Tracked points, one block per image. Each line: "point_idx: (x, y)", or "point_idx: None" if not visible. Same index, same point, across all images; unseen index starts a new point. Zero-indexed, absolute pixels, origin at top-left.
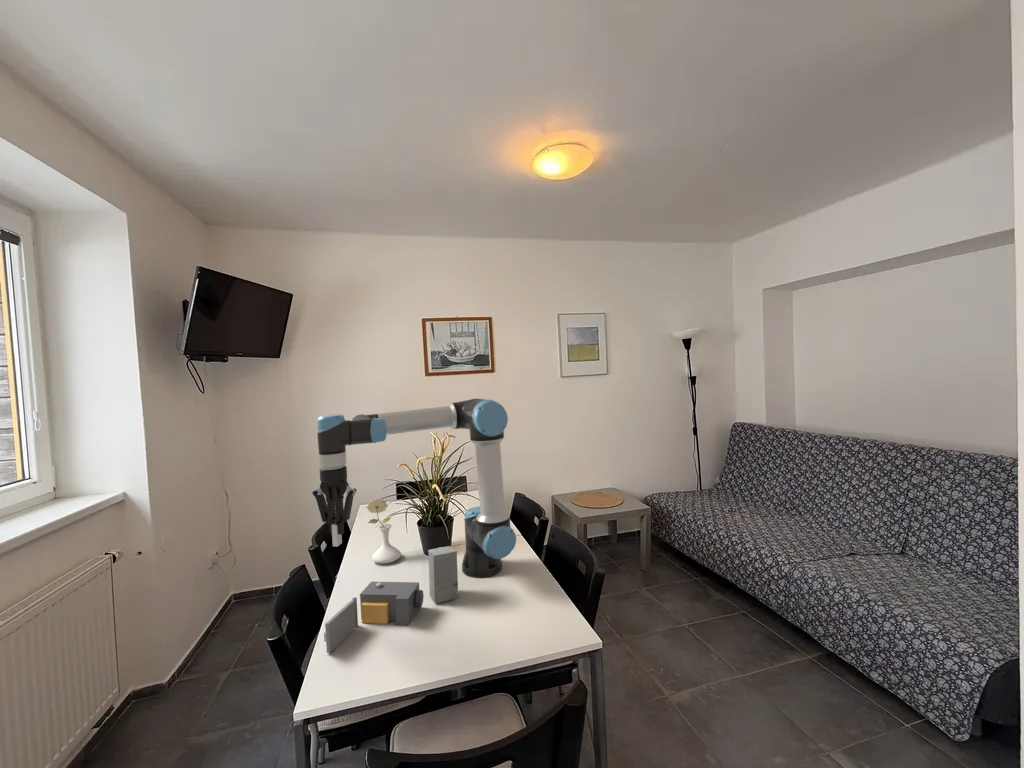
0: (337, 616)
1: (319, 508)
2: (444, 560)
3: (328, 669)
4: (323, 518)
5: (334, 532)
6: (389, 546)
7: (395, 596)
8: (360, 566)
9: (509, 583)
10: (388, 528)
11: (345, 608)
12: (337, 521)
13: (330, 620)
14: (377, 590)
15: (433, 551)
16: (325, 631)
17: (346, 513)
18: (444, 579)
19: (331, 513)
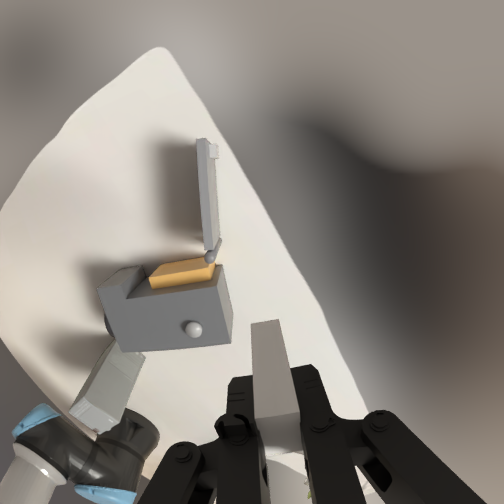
0: (198, 175)
1: (460, 488)
2: (80, 394)
3: (181, 114)
4: (391, 434)
5: (270, 373)
6: (302, 451)
7: (131, 297)
8: (343, 407)
9: (71, 390)
10: (306, 478)
11: (201, 211)
12: (245, 444)
13: (202, 153)
14: (184, 310)
15: (101, 414)
16: (216, 148)
17: (144, 502)
18: (95, 368)
19: (316, 499)
